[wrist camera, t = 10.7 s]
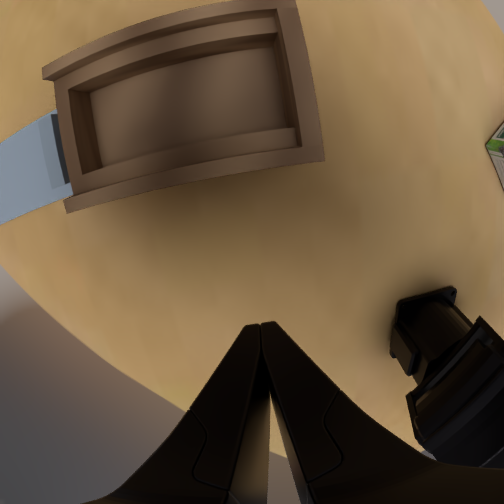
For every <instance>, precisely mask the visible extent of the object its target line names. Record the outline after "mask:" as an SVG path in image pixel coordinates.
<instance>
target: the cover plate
mask: <svg viewBox="0 0 504 504" xmlns="http://www.w3.org/2000/svg"><path fill="white" fill-rule="evenodd" d="M71 195H73V191H72V187H71V183H70V179H69V175H68V170H67V166H66V161H65V156H64V151H63V146H62V140H61V134H60V128H59V122H58V115H57V109H55V110H53V111H52V112H50V113H48V114H46V115H44V116H43V117H41V118H39V119H37V120H36V121H34V122H32V123H31V124H29V125H27V126H26V127H24V128H23V129H21V130H19V131H18V132H16V133H15V134H13V135H12V136H10V137H9V138H7V139H6V140H4V141H3V142H2V143H0V225H1V224H3V223H5V222H7V221H10V220H12V219H14V218H16V217H18V216H21V215H23V214H25V213H28V212H30V211H32V210H35V209H37V208H40V207H42V206H45V205H47V204H50V203H52V202H55V201H57V200H60V199H62V198H65V197H68V196H71Z"/></svg>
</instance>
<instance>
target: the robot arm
mask: <svg viewBox="0 0 504 504" xmlns="http://www.w3.org/2000/svg"><path fill="white" fill-rule="evenodd" d="M451 292H452V293H451ZM456 293H457V290H456V288H454V287H453V286H451V287H448V288H444V289H441V290H437V291H434V292H430V293H427V294H423V295H419V296H415V297H411V298H407V299H404V300H401V301H399V303H398V304H397V309H396V317H395V324H394V325H393V330H392V336H391V343H390V347H391V350H390V355H391V357H392V358H397V360H398V361H399V363H400V365H401V366H402V368H403V370H404V372H405V374H406V375H407V376H411V375H412V376H413V378H414V380H415V382H416V383H417V385H418V386H417V387H416V388H415V389H414V390H413V391H410V392H409V393H408V394H407V395H406V400H407V405H408V409H409V414H410V418H411V423H412V427H413V432H414V437H415V439H416V440H417V441H418V443H419V445H421V446H422V447H423V448H424V449H425V450H426V451H428V452H429V453H431V454H433V456H434V457H435V458H436V460H437V461H436V460H434V459H431V458H429V457H427V456H425V455H423V454H422V453H420V452H419V451H417V450H416V449H414V448H413V447H411V446H410V445H408V444H407V443H406V442H404V441H403V440H401V439H400V438H398V437H397V436H396V435H394V434H393V433H391V432H390V431H389V430H387V429H386V428H384V427H383V426H382V425H380V424H379V423H378V422H376V421H375V420H374V419H373V418H371V417H370V416H369V415H367V414H366V413H365V412H364V411H363V410H362V409H360V408H359V407H358V406H357V405H356V404H355V403H354V402H353V401H352V400H351V399H350V398H349V397H348V396H347V395H346V394H345V393H344V392H343V391H342V390H340V388H339V387H338V386H337V385H336V384H335V383H334V382H333V381H332V380H331V379H330V378H329V377H328V376H327V375H326V374H325V373H324V372H323V371H322V370H321V369H320V368H319V367H318V366H317V365H316V364H315V363H314V362H313V361H312V359H311V358H310V357H309V356H308V355H307V354H306V353H305V352H304V351H303V350H302V349H301V348H300V347H299V346H298V345H297V344H296V343H295V342H294V341H293V340H292V338H291V337H290V336H289V335H288V334H287V333H286V332H285V331H284V330H283V329H282V328H281V327H280V326H279V325H278V324H277V323H276V322H275V321H270V322H264V323H261V325H260V324H250V325H245V326H244V327H243V329H242V330H241V332H240V334H239V335H238V337H237V338H236V340H235V341H234V343H233V344H232V346H231V347H230V349H229V350H228V352H227V353H226V355H225V356H224V358H223V359H222V361H221V362H220V364H219V365H218V367H217V368H216V370H215V371H214V373H213V374H212V376H211V377H210V379H209V380H208V382H207V383H206V384H205V386H204V387H203V389H202V390H201V392H200V393H199V395H198V396H197V398H196V399H195V401H194V402H193V403H192V405H191V406H190V408H189V409H190V410H187V412H186V413H185V415H184V416H183V418H182V419H181V420H180V422H179V423H178V425H177V426H176V427H175V428H174V430H173V431H172V432H171V433H170V435H169V436H168V437H167V438H166V439H165V441H164V442H163V443H162V444H161V445H160V446H159V447H158V449H157V450H156V451H155V452H154V453H153V454H152V455H151V456H150V457H149V458H148V459H147V460H146V461H145V462H144V463H143V464H142V465H141V466H140V467H139V468H138V469H137V470H136V471H135V473H133V474H132V475H131V476H130V477H129V478H128V480H127V481H126V482H125V483H123V484H122V485H121V486H120V487H119V488H117V489H116V490H115V491H113V492H112V493H110V494H108V495H107V496H104V497H102V498H100V499H97V500H93V501H89V502H86V503H82V504H267V492H268V467H269V439H270V395H271V399H272V404H273V407H274V411H275V415H276V418H277V422H278V426H279V429H280V433H281V436H282V440H283V444H284V447H285V451H286V454H287V458H288V461H289V465H290V468H291V471H292V475H293V479H294V482H295V485H296V489H297V492H298V495H299V499H300V502H301V504H504V340H503V339H502V338H501V337H500V336H499V335H498V334H497V333H496V332H495V331H494V330H493V328H492V327H491V326H490V325H489V324H488V323H487V322H486V321H485V320H484V319H483V318H482V317H481V316H480V315H479V317H478V318H477V319H476V322H475V324H474V325H473V323H472V322H471V321H470V320H469V319H468V318H467V317H466V316H465V315H464V314H463V313H462V312H461V311H460V310H459V309H458V308H457V307H456V306H455V305H454V303H455V298H456ZM403 305H404V306H403ZM402 306H403V307H402Z"/></svg>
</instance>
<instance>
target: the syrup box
mask: <svg viewBox="0 0 504 504" xmlns="http://www.w3.org/2000/svg"><path fill="white" fill-rule="evenodd" d="M486 147H487V149H488V152H489V154H490V156H491V159H492V161H493V163H494V166H495V168H496V171H497V173H498V176H499V178H500V181H501V183H502V186H503V188H504V123H503V124H502V125H501V127H500V128H499V129H498V131H497V132H496V133H495V134H494V136H493V137H492V138H491V140H490V141H489V142H488V143H487V144H486Z"/></svg>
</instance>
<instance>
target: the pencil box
mask: <svg viewBox="0 0 504 504" xmlns="http://www.w3.org/2000/svg"><path fill="white" fill-rule="evenodd" d="M42 77H43V80H49V81H54V89H55V98H56V107H57V115H58V122H59V128H60V134H61V140H62V146H63V151H64V156H65V161H66V166H67V170H68V175H69V179H70V183H71V187H72V191H73V196H71V197H69V198H67V199H65V200H63V202H64V206H65V209H66V213H67V214H68V213H71V212H74V211H78V210H81V209H84V208H88V207H91V206H95V205H98V204H102V203H106V202H109V201H113V200H117V199H121V198H125V197H128V196H132V195H136V194H141V193H145V192H149V191H153V190H157V189H162V188H166V187H171V186H175V185H180V184H185V183H189V182H194V181H199V180H204V179H210V178H215V177H220V176H226V175H231V174H237V173H243V172H249V171H255V170H262V169H268V168H275V167H282V166H289V165H297V164H305V163H313V162H322V161H325V157H324V149H323V141H322V134H321V127H320V120H319V113H318V107H317V101H316V95H315V89H314V83H313V78H312V73H311V67H310V62H309V57H308V52H307V48H306V43H305V39H304V34H303V30H302V25H301V21H300V17H299V13H298V9H297V5H296V1H295V0H233V1H227V2H221V3H215V4H209V5H204V6H199V7H195V8H190V9H186V10H182V11H178V12H174V13H170V14H167V15H163V16H160V17H156V18H153V19H150V20H147V21H144V22H141V23H138V24H135V25H132V26H129V27H126V28H124V29H121V30H118V31H116V32H113V33H111V34H108V35H106V36H104V37H101V38H99V39H97V40H95V41H92V42H90V43H88V44H86V45H84V46H82V47H80V48H77V49H75V50H73V51H71V52H70V53H68V54H66V55H64V56H62V57H60V58H58V59H56V60H55V61H53V62H51V63H49V64H48V65H46V66H44V67H42Z"/></svg>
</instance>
